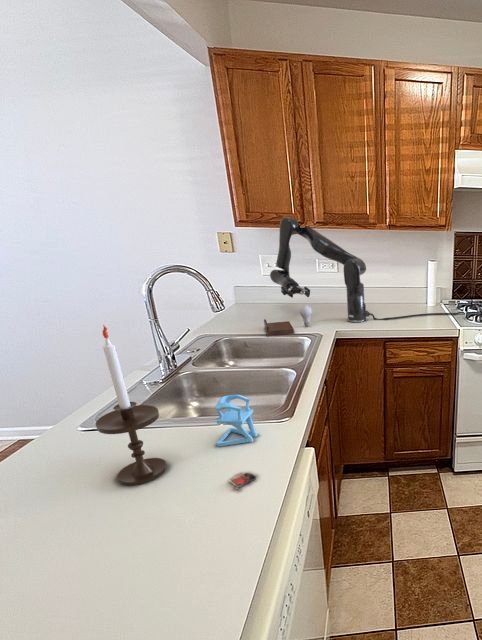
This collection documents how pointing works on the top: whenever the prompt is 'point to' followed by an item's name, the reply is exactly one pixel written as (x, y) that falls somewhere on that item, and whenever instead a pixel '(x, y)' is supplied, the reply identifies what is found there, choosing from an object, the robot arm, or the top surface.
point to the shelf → (278, 328)
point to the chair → (235, 420)
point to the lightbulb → (306, 314)
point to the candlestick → (129, 425)
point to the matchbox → (242, 479)
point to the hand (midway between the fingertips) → (300, 295)
